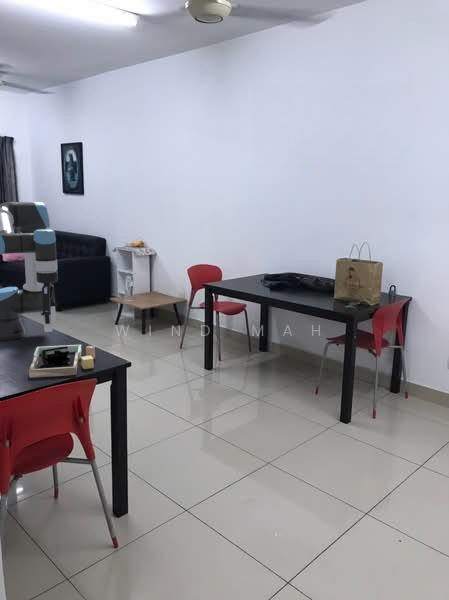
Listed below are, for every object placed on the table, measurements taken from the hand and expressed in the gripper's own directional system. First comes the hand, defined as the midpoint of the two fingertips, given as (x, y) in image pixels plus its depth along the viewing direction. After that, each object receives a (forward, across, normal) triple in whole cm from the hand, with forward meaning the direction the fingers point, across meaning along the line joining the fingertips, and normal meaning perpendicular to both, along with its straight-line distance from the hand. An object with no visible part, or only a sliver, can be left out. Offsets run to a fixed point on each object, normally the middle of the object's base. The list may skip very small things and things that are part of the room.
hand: (50, 326), depth 182 cm
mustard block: (+19, -4, +13) cm, 23 cm away
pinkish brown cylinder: (+19, -14, +14) cm, 27 cm away
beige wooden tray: (+19, -5, 0) cm, 19 cm away
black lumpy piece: (+19, -10, 0) cm, 21 cm away
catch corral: (+19, -18, 0) cm, 26 cm away
